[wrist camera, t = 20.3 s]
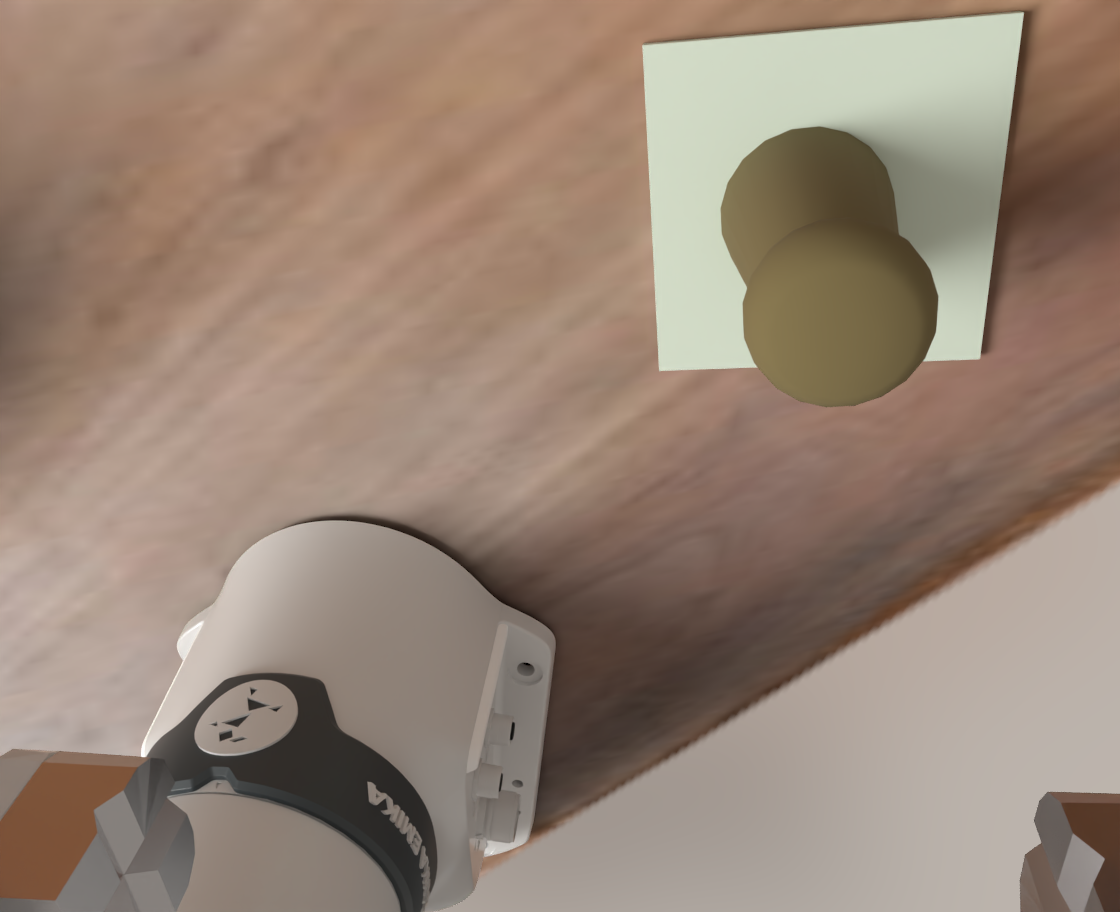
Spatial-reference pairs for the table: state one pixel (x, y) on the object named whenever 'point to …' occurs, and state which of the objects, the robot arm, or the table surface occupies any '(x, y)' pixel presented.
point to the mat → (841, 104)
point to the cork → (826, 269)
